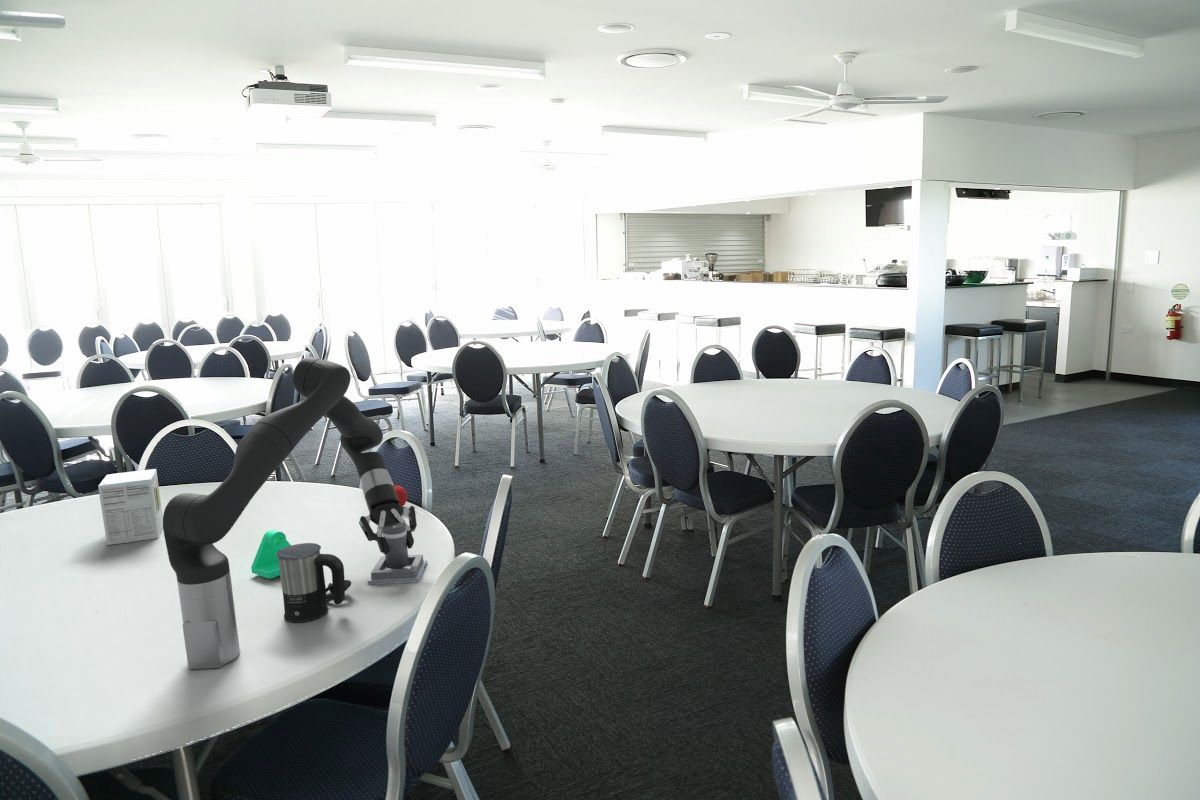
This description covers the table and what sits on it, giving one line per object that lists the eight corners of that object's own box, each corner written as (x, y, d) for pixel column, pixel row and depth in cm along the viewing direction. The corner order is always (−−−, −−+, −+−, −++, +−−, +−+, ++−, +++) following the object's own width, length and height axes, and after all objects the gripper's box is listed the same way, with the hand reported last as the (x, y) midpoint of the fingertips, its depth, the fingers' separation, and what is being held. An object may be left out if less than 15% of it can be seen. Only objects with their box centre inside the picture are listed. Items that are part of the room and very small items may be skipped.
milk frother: (280, 626, 173) (272, 560, 170) (289, 596, 188) (282, 535, 185) (350, 616, 176) (343, 551, 174) (353, 588, 191) (347, 528, 189)
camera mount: (270, 583, 197) (265, 542, 195) (252, 577, 201) (247, 537, 199) (313, 566, 206) (308, 528, 204) (295, 560, 210) (290, 523, 209)
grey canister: (406, 568, 196) (403, 529, 194) (383, 569, 196) (380, 530, 194) (411, 560, 202) (408, 521, 200) (388, 561, 202) (385, 522, 200)
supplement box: (159, 538, 231) (151, 479, 228) (106, 546, 227) (97, 485, 223) (165, 524, 243) (157, 468, 240) (114, 531, 239) (106, 474, 235)
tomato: (378, 506, 253) (376, 481, 251) (407, 503, 255) (405, 478, 254) (379, 515, 245) (377, 489, 243) (409, 511, 247) (407, 486, 246)
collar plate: (418, 581, 194) (417, 571, 193) (367, 584, 193) (366, 574, 193) (427, 562, 205) (426, 553, 205) (379, 565, 205) (378, 555, 205)
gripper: (404, 493, 211) (423, 550, 203) (348, 504, 203) (366, 563, 196) (409, 478, 205) (429, 536, 198) (352, 488, 198) (371, 549, 190)
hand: (398, 549), depth 197 cm, fingers closed on grey canister, 5 cm apart
